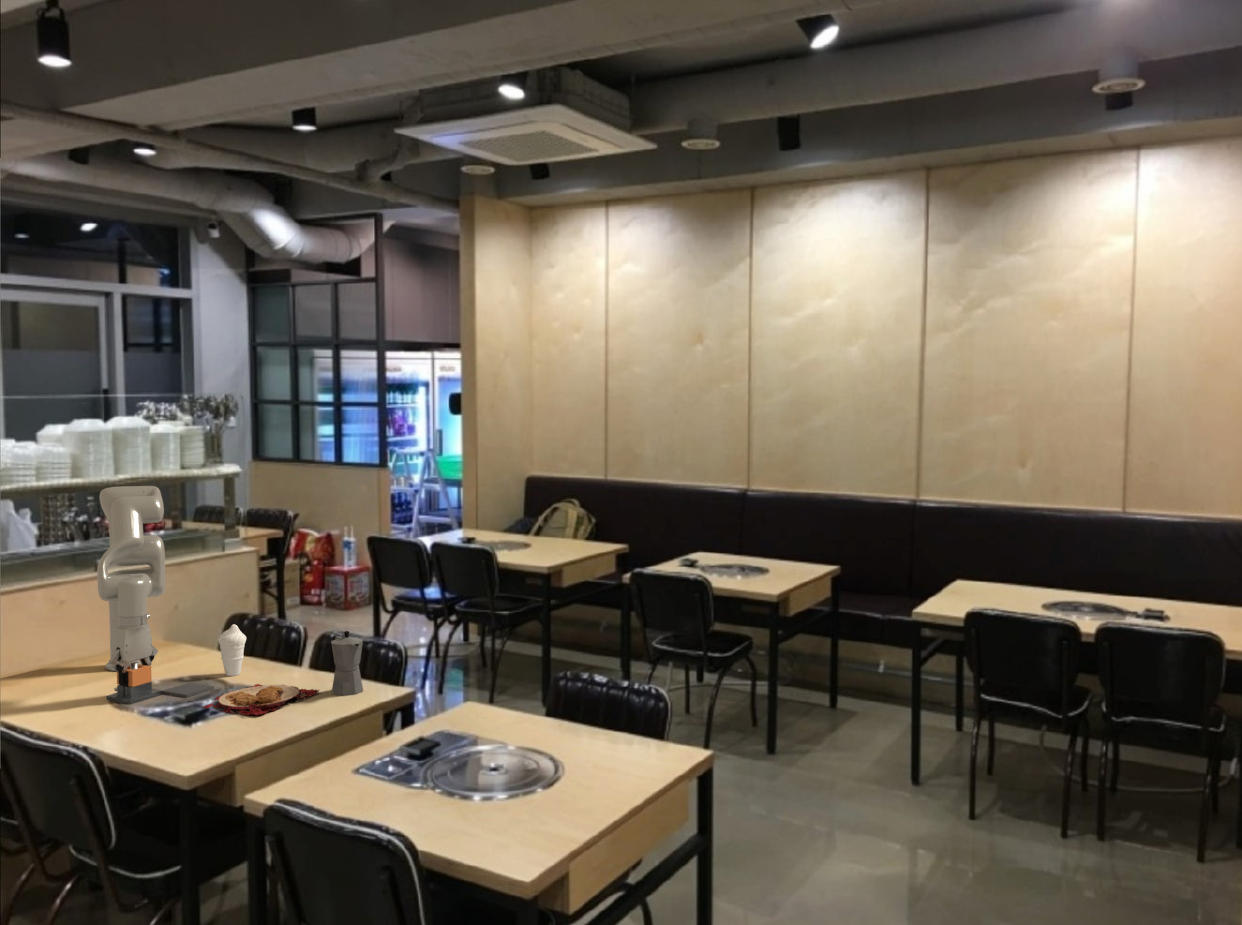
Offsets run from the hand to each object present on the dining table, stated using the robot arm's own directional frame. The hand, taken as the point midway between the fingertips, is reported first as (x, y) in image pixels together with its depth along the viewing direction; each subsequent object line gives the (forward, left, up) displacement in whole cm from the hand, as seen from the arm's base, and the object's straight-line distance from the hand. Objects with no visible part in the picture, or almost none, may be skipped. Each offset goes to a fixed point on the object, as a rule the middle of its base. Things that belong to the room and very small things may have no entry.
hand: (134, 681), depth 290 cm
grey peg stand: (0, 0, -4) cm, 4 cm away
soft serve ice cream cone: (-31, +6, -5) cm, 32 cm away
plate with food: (-12, +35, -5) cm, 38 cm away
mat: (-11, +9, -4) cm, 15 cm away
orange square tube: (0, 0, 0) cm, 0 cm away
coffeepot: (-31, +51, -5) cm, 60 cm away
